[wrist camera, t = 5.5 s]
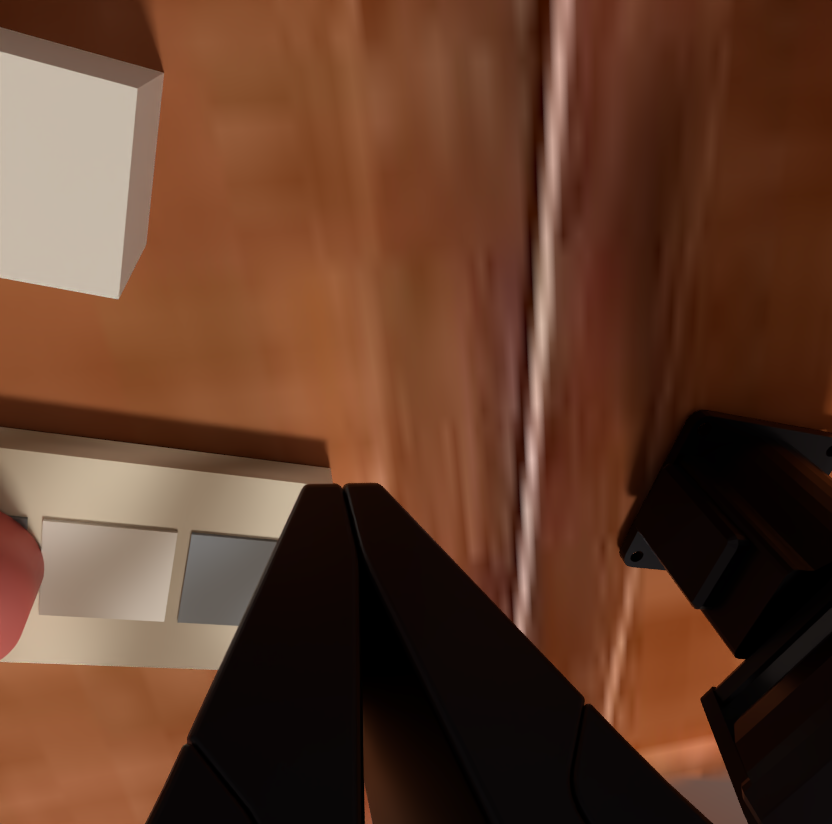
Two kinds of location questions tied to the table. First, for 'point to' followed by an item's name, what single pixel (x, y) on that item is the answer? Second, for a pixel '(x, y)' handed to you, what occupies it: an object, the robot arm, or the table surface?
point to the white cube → (74, 164)
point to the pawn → (17, 580)
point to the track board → (142, 546)
